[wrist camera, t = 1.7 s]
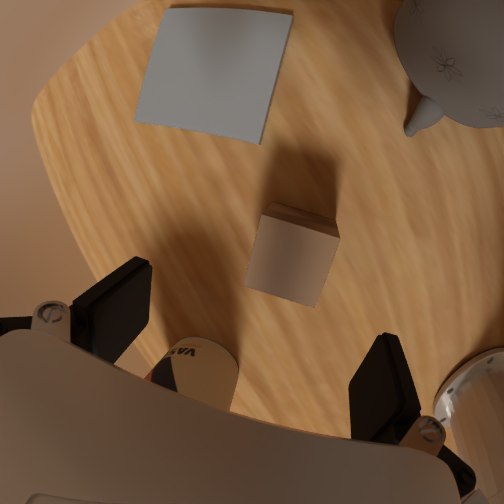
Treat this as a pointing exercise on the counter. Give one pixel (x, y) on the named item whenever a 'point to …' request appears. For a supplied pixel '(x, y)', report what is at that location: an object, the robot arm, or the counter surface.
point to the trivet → (214, 71)
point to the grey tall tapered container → (453, 60)
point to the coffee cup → (198, 371)
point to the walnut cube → (292, 254)
